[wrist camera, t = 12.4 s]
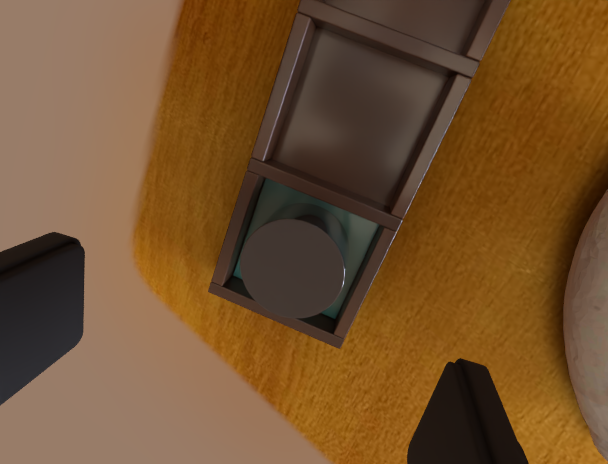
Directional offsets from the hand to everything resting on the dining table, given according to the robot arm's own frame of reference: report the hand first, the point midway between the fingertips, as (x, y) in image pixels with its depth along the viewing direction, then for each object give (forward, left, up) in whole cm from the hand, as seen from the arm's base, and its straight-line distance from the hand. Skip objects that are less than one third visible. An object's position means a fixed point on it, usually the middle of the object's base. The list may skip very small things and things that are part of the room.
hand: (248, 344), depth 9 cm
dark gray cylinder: (+1, 0, -9) cm, 9 cm away
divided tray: (-5, -1, -10) cm, 11 cm away
